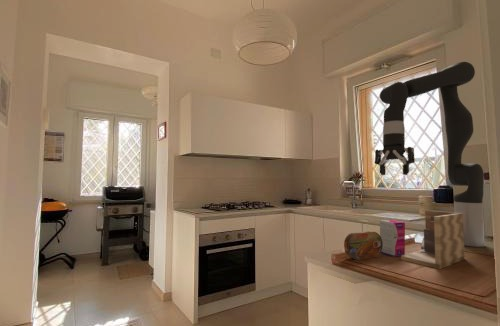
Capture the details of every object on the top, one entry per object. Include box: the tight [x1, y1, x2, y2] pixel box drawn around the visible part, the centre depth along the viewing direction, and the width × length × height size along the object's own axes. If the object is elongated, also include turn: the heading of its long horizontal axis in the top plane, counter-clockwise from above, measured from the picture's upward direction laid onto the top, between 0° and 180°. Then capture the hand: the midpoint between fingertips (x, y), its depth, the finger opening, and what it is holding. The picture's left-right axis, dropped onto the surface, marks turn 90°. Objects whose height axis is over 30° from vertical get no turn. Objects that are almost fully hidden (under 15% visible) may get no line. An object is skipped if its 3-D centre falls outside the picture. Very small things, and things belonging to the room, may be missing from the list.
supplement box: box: [379, 219, 406, 258], centre depth 94 cm, size 6×6×12 cm
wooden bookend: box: [400, 209, 466, 270], centre depth 88 cm, size 19×11×15 cm, turn 124°
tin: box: [343, 231, 383, 261], centre depth 89 cm, size 15×3×8 cm, turn 114°
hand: (393, 174), depth 105 cm, fingers open, 8 cm apart
